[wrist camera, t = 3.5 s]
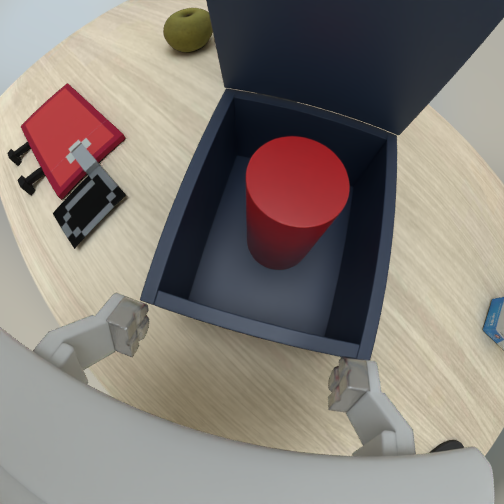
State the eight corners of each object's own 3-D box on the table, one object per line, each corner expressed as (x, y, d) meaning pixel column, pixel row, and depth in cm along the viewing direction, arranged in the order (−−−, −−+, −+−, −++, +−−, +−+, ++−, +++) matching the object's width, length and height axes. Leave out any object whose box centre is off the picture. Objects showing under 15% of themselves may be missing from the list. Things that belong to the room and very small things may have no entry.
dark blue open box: (327, 349, 25) (369, 362, 16) (177, 308, 26) (139, 299, 16) (359, 186, 30) (397, 135, 20) (231, 151, 30) (225, 88, 21)
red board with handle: (68, 262, 27) (159, 170, 30) (55, 256, 24) (152, 157, 27) (10, 145, 32) (70, 88, 35) (2, 137, 29) (64, 78, 33)
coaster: (422, 501, 19) (424, 502, 19) (404, 473, 21) (407, 475, 21) (466, 459, 21) (469, 461, 20) (454, 428, 22) (456, 429, 22)
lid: (536, -23, 1) (499, -54, 1) (177, -125, 1) (219, -131, 2) (399, 136, 19) (400, 94, 20) (224, 87, 20) (241, 50, 21)
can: (269, 282, 26) (286, 249, 14) (234, 230, 27) (225, 163, 15) (321, 248, 27) (369, 195, 15) (285, 199, 28) (307, 122, 16)
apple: (224, 46, 36) (221, 12, 29) (179, 64, 35) (171, 29, 28) (202, 31, 37) (198, 0, 30) (161, 47, 36) (153, 16, 29)
